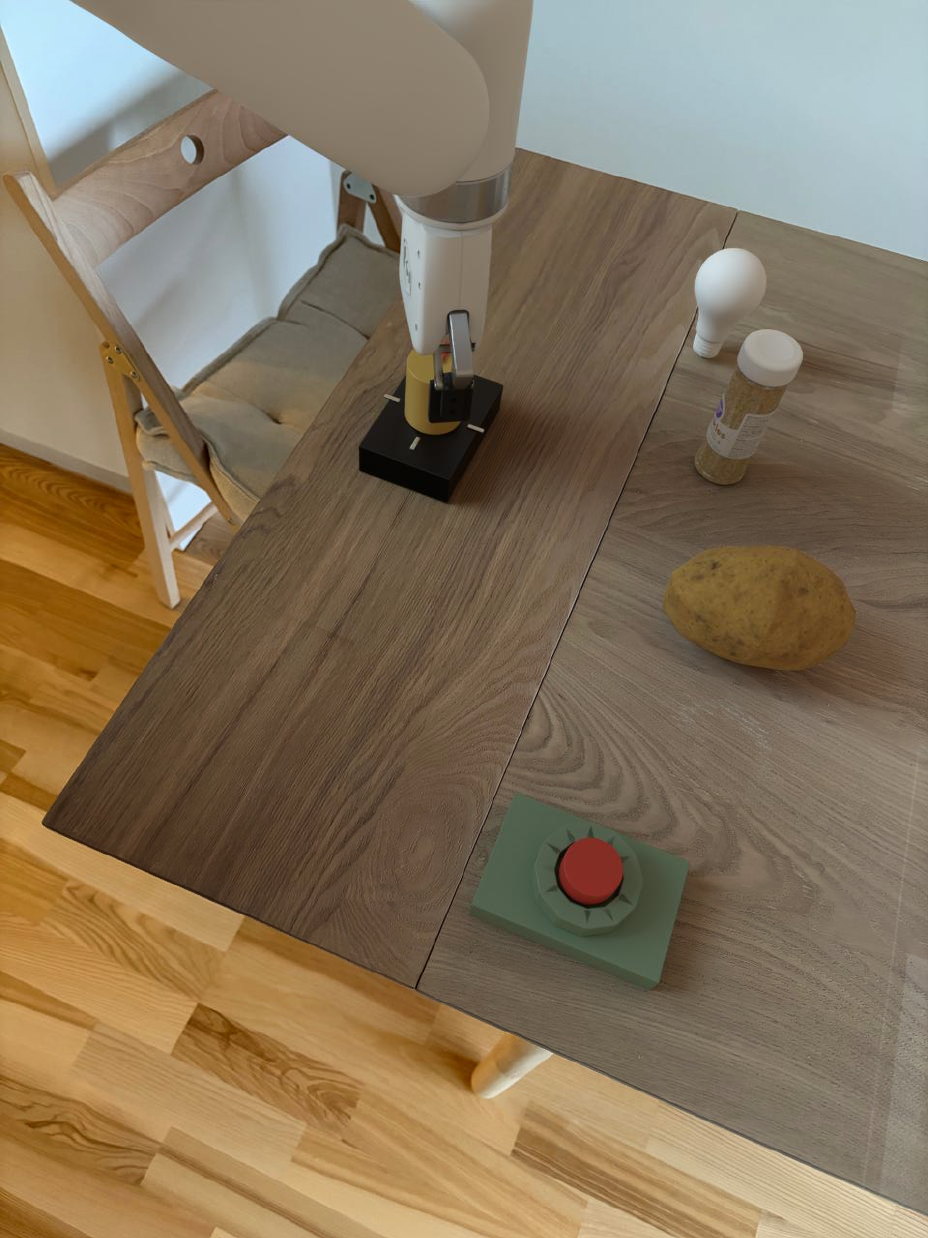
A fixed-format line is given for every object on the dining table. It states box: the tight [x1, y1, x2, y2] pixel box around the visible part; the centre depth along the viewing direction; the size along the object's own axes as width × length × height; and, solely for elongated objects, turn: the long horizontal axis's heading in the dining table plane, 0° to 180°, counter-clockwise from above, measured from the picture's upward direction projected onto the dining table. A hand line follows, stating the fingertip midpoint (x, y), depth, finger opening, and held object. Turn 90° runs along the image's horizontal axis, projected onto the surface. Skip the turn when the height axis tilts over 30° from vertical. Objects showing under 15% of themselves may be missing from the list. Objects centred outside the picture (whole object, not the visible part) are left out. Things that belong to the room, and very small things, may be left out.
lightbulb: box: [692, 247, 767, 359], centre depth 85 cm, size 6×6×11 cm
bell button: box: [559, 838, 623, 905], centre depth 57 cm, size 4×4×2 cm
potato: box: [662, 544, 857, 671], centre depth 68 cm, size 10×13×9 cm
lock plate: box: [358, 374, 504, 504], centre depth 79 cm, size 12×9×3 cm
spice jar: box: [694, 328, 804, 486], centre depth 76 cm, size 5×5×13 cm
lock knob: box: [405, 340, 461, 435], centre depth 76 cm, size 5×5×6 cm
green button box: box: [467, 791, 691, 991], centre depth 59 cm, size 12×8×4 cm, turn 69°
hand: (438, 374), depth 75 cm, fingers open, 9 cm apart
